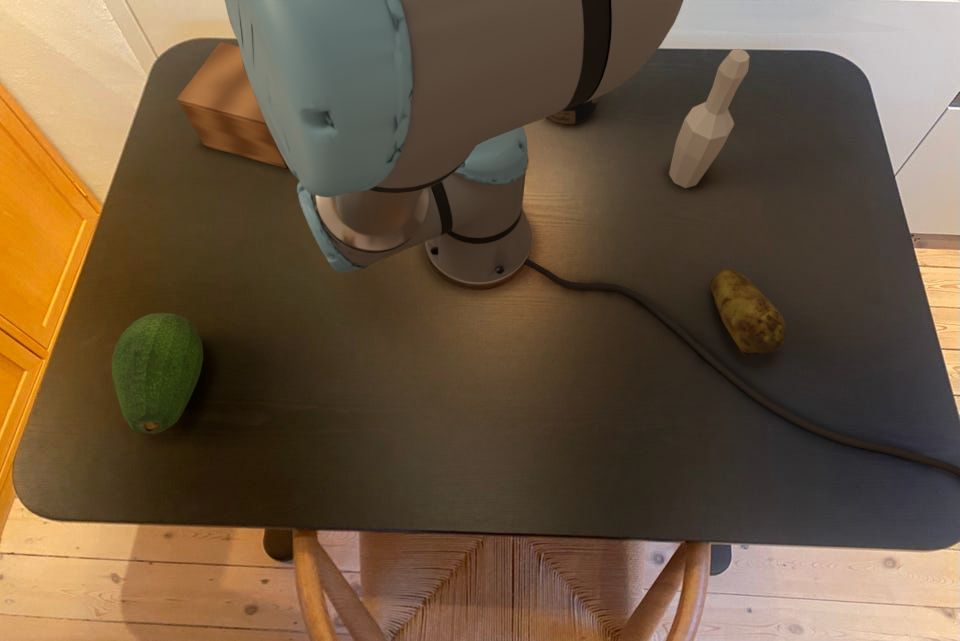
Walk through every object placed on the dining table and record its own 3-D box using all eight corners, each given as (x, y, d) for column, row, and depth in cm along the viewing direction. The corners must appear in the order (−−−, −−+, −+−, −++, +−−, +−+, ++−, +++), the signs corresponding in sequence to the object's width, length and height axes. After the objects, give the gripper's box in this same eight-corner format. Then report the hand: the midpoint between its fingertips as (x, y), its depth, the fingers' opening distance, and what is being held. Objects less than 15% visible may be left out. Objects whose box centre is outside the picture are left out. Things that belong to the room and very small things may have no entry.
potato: (765, 286, 84) (791, 255, 77) (769, 372, 78) (798, 347, 71) (704, 278, 84) (725, 246, 77) (704, 362, 79) (726, 336, 72)
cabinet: (321, 111, 99) (306, 63, 90) (286, 168, 94) (266, 122, 85) (242, 91, 101) (220, 41, 92) (203, 145, 96) (176, 98, 87)
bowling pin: (655, 172, 93) (701, 51, 73) (684, 153, 95) (737, 30, 75) (685, 199, 91) (741, 81, 71) (714, 178, 92) (777, 58, 73)
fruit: (203, 441, 74) (164, 417, 65) (122, 443, 74) (72, 419, 65) (223, 331, 81) (191, 295, 72) (149, 333, 81) (107, 297, 72)
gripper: (261, -130, 70) (312, 43, 90) (177, -35, 62) (253, 130, 83) (320, -118, 68) (358, 54, 89) (242, -20, 61) (303, 143, 82)
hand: (307, 90), depth 86 cm, fingers closed on can, 5 cm apart
